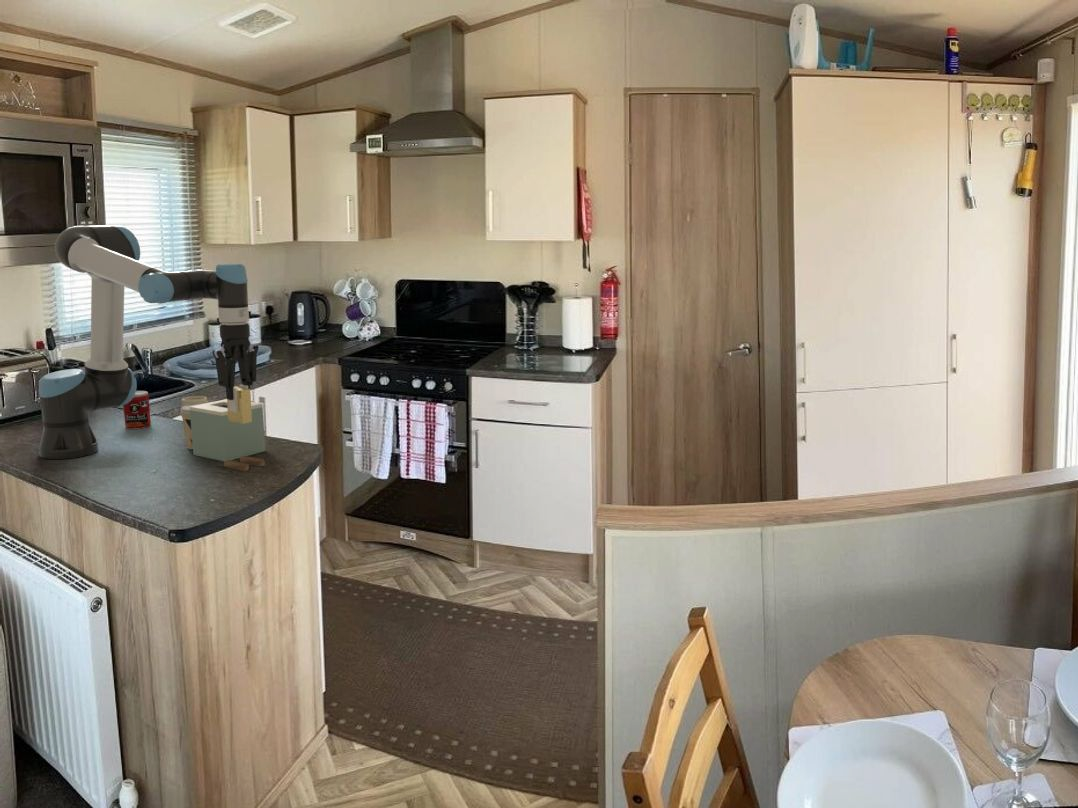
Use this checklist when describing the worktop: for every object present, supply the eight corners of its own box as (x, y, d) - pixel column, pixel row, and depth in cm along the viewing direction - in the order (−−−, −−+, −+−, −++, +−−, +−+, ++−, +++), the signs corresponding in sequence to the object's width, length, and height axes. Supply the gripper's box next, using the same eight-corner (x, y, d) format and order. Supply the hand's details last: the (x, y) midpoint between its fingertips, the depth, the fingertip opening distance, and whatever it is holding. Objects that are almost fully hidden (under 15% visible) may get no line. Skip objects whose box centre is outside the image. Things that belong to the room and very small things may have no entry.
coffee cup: (185, 451, 264) (182, 411, 261) (182, 444, 272) (179, 405, 269) (219, 448, 268) (216, 408, 265) (215, 441, 276) (212, 402, 273)
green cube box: (225, 461, 253) (221, 412, 250) (193, 454, 260) (189, 406, 258) (265, 450, 264) (262, 403, 262) (233, 444, 272) (230, 398, 269)
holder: (243, 471, 244) (243, 465, 243) (224, 466, 248) (223, 461, 248) (264, 465, 249) (264, 459, 249) (245, 460, 254) (244, 455, 253)
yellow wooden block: (242, 423, 243) (241, 390, 242) (228, 420, 247) (226, 388, 245) (252, 421, 246) (250, 389, 244) (237, 418, 249) (235, 386, 247)
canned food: (123, 429, 291) (120, 396, 289) (127, 424, 299) (124, 391, 296) (149, 428, 293) (146, 394, 291) (152, 422, 301) (149, 390, 298)
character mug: (192, 445, 270) (189, 401, 268) (174, 442, 273) (171, 400, 271) (219, 437, 280) (216, 396, 278) (201, 436, 283) (199, 394, 281)
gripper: (218, 327, 232) (223, 417, 237) (268, 321, 245) (272, 406, 250) (199, 324, 236) (205, 413, 241) (249, 319, 249) (254, 403, 254)
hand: (239, 409), depth 246 cm, fingers closed on yellow wooden block, 3 cm apart
